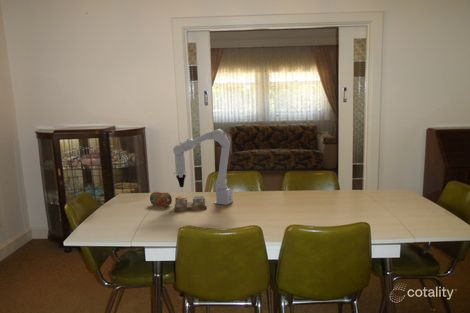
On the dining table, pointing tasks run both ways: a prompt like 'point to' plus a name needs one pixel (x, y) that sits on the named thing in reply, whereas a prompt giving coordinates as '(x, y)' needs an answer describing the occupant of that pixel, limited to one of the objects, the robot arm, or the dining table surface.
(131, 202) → the dining table surface
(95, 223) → the dining table surface
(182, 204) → the press board
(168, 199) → the tin
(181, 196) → the terracotta plunger
